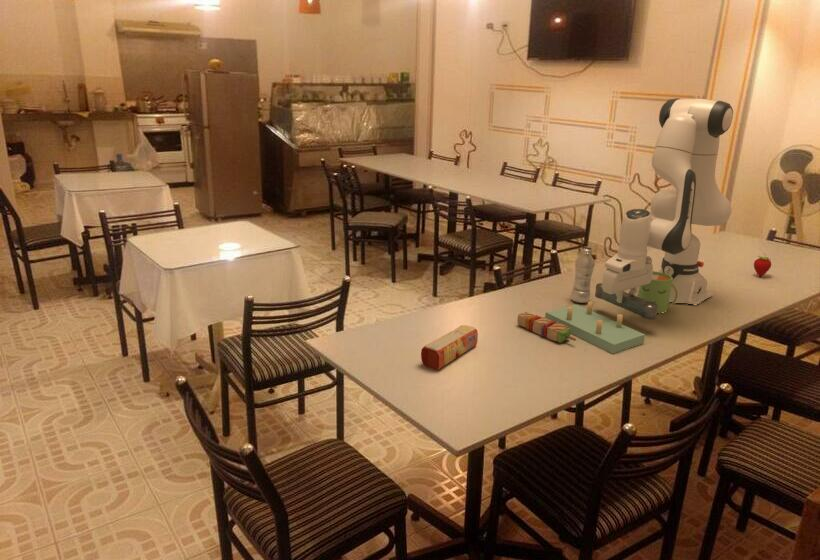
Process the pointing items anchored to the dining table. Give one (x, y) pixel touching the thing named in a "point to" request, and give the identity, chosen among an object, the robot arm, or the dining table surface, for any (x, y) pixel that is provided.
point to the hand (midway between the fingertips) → (625, 300)
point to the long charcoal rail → (629, 303)
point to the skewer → (545, 327)
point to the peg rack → (597, 328)
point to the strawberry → (762, 265)
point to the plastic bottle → (583, 276)
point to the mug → (658, 291)
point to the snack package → (449, 347)
